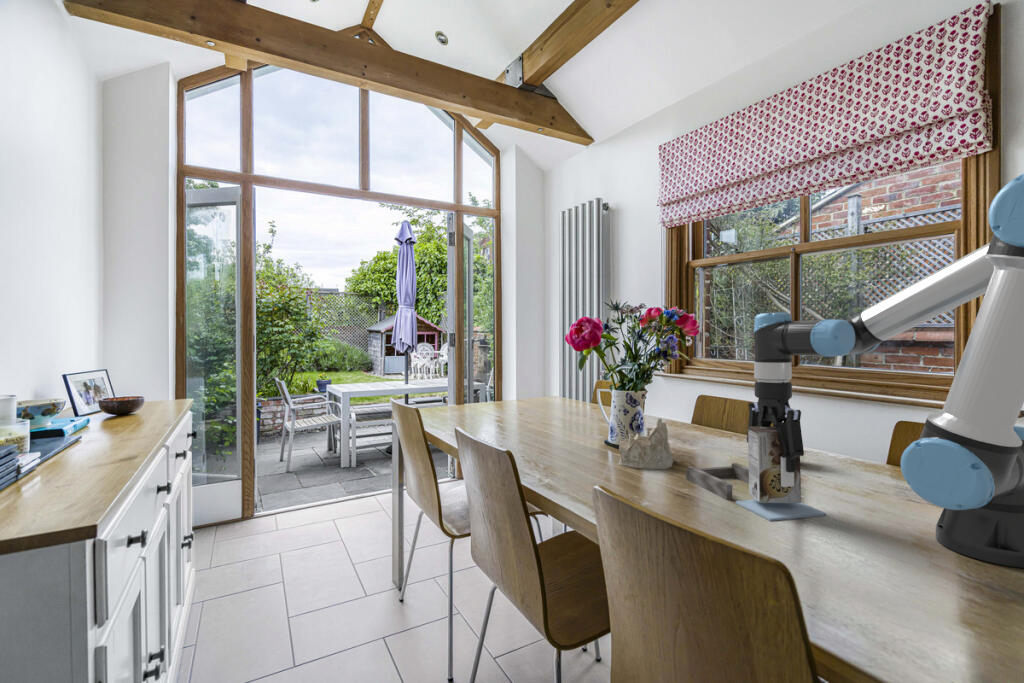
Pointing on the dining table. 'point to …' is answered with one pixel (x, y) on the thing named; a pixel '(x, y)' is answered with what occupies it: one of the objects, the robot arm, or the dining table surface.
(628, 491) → the dining table surface
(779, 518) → the mat
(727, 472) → the tray
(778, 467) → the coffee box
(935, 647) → the dining table surface
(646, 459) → the ceramic cottage
